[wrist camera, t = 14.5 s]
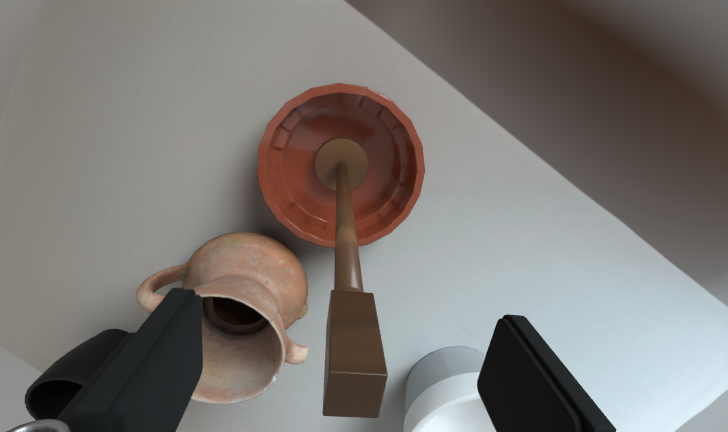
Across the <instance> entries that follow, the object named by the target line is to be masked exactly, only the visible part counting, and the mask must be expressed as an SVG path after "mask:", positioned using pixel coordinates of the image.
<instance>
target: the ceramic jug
mask: <svg viewBox="0 0 728 432" xmlns="http://www.w3.org/2000/svg"><path fill="white" fill-rule="evenodd" d="M179 280H183V289H193V290H195V294H196V295H200V296H201V300H202V344H203V369H202V374H201V377H200V380H199V382H198V384H197V386H196V388H195V390H194V393H193V395H192V397H191V399H192V400H195V401H198V402H203V403H207V404H233V403H239V402H243V401H247V400H250V399H253V398H255V397H257V396H258V395H260V394H262V393H263V392H265V391H266V390H267V389H268V388H270V386H271V385H272V384H273V383H274V382H275V380H276V378H277V376H278V374H280V373H281V371H282V369H283V366H284V363H285V362H287V363H290V364H300V363H303V362H304V361H305V360H306V357H307V354H308V347H307V346H301V345H298V344H296V343H295V342H293V341H292V340H291V339H290V338H289V337H288V336H287V335H286V333H285V330H286V329H288V328H289V327H290V326H291V325H292V324H293V323H294V322H295V321H296V320H297V319H301V318H302V317H303V316H304V315H305V314H306V313H307V312H308V308H307V295H308V284H307V277H306V274H305V271H304V268H303V266H302V264H301V263H300V261H299V259H298V258H297V257H296V256H295V254H294V253H293V252H292V251H291V250H290V249H289V248H288V247H287V246H285V245H284V244H283V243H281V242H280V241H278V240H276V239H274V238H272V237H269V236H266V235H263V234H259V233H254V232H233V233H227V234H224V235H221V236H218V237H216V238H214V239H212V240H210V241H208V242H206V243H205V244H204V245H203V246H201V247H200V248H199V249H198V250H197V251H196V252H195V253H194V255H193V256H192V257H191V259H190V260H189V262H187V263H186V264H185V265H180V266H176V267H171V268H168V269H165V270H163V271H160V272H158V273H156V274H154V275H152V276H151V277H149V278H148V279H146V280H145V281H144V282H143V283H142V284H141V285H140V286H139V288H138V290H137V293H136V298H137V301H138V304H139V305H140V307H141V308H142V309H143V310H145V311H147V312H149V313H152V312H153V311H154V310H155V308H156V307H157V306H158V305H159V304H160V302H161V301H162V300H163V299H164V297H165V296H162V295H159V294H155V293H154V292H155V291H156V290H158V289H160V288H161V287H163V286H165V285H168V284H171V283H173V282H175V281H179Z"/></svg>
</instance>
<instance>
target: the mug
mask: <svg viewBox="0 0 728 432" xmlns="http://www.w3.org/2000/svg"><path fill="white" fill-rule="evenodd" d="M128 334H129V333H128V332H126V331H123V330H119V329H110V330H106V331H103V332H101V333H100V334H98V335H97V336H95V337H93V338H91V339H89V340H87V341H86V342H84V343H82V344H81V345H79V346H77V347H76V348H74V349H73V350H71V351H70V352H68V353H67V354H65V355H64V356H63V357H61V358H60V359H59V360H57V361H56V362H55V363H54V364H53V365H52V366H51V367H50V368H48V369H47V370H46V371H45V372H44V373H43V374H42V375H41V376H40V377H39V378H38V379H37V380H36V381H35V382H34V383H33V384H32V385H31V386H30V387H29V388H28V390H27V393H26V395H25V404H26V408H27V410H28V411H29V413H30V414H31V416H32V417H33V418H34V419H35V420H36V421H37V420H44V419H52V420H55V419H56V418H57V417H58V416H59V415H60V413H61V412H62V411H63V410H64V409H65V407H66V406H67V405H68V404H69V403H70V401H71V400H72V399H73V398H74V397H75V395H76V394H77V393H78V392H79V391H80V390H81V388H82V387H83V386H84V385H85V384H86V382H87V381H88V380H89V379H90V378H91V376H92V375H93V374H94V373H95V372H96V370H97V369H98V368H99V367H100V366H101V365H102V363H103V362H104V361H105V360H106V359H107V357H108V356H109V355H110V354H111V353H112V351H113V350H114V349H115V348H116V347H117V345H118V344H119V343H120V342H121V341H122V339H123V338H124V337H125V336H126V335H128Z"/></svg>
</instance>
